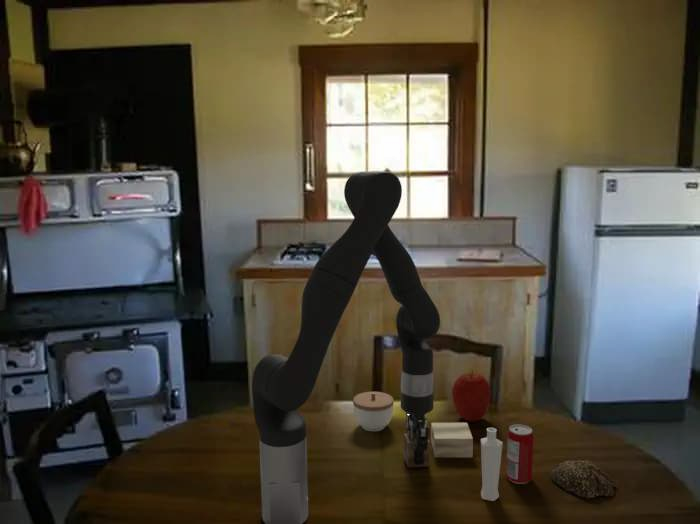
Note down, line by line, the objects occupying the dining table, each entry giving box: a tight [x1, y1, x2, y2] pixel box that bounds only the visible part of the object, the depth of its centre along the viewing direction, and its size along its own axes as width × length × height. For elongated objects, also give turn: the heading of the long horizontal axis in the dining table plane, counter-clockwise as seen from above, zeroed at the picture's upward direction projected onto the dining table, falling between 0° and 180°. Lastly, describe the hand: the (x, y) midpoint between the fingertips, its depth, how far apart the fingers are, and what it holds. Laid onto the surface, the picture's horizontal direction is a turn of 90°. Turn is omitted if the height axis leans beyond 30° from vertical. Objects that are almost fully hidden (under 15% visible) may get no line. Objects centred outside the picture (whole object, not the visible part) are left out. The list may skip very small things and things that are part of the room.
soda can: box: [505, 423, 534, 485], centre depth 140 cm, size 6×6×12 cm
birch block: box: [430, 422, 474, 458], centre depth 155 cm, size 9×9×5 cm
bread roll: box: [549, 459, 616, 499], centre depth 139 cm, size 13×12×5 cm
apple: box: [451, 370, 492, 423], centre depth 171 cm, size 10×10×14 cm
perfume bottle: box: [480, 427, 504, 502], centre depth 133 cm, size 5×4×15 cm
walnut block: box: [403, 432, 431, 468], centre depth 148 cm, size 5×5×6 cm
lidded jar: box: [352, 391, 395, 432], centre depth 168 cm, size 11×11×9 cm
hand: (416, 457), depth 148 cm, fingers closed on walnut block, 5 cm apart
